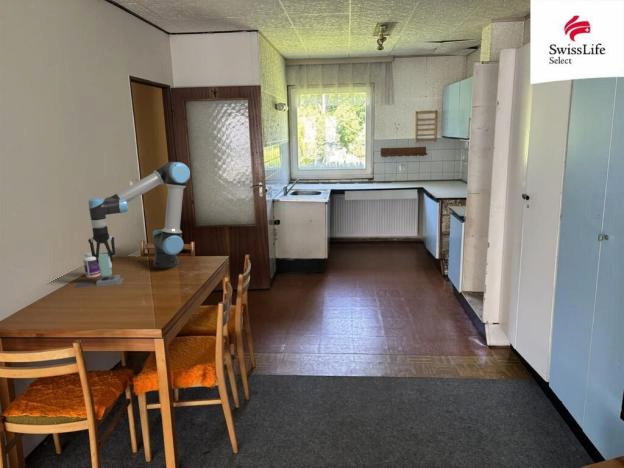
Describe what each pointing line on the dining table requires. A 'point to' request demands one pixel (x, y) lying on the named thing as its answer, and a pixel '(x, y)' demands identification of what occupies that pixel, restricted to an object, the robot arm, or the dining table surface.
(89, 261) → the pill bottle
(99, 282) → the grey socket tray
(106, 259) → the plug
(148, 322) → the dining table surface
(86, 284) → the mat
